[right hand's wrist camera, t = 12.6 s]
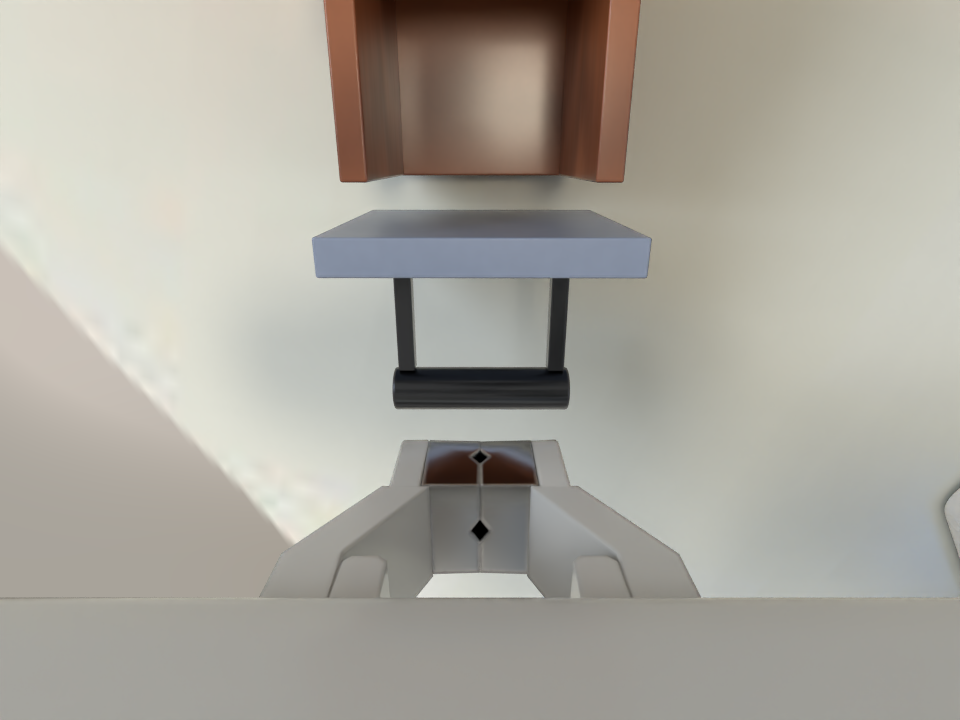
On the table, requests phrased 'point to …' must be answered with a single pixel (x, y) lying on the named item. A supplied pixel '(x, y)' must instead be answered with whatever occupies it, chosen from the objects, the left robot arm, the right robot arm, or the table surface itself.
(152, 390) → the table surface
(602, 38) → the drawer
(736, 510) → the table surface
